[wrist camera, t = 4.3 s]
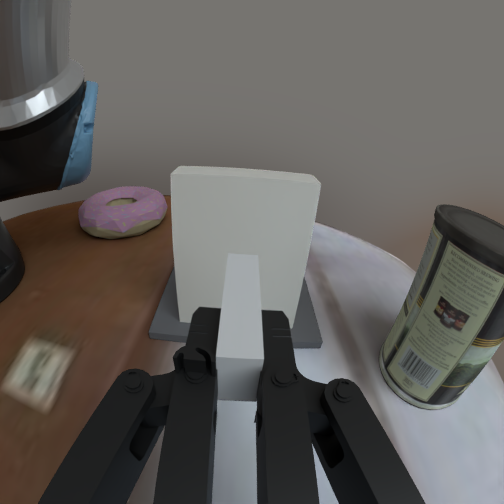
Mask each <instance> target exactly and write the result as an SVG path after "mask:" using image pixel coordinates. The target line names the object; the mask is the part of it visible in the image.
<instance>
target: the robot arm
mask: <svg viewBox="0 0 504 504" xmlns="http://www.w3.org/2000/svg"><path fill="white" fill-rule="evenodd" d="M70 8H71V0H0V202H2V201H6V200H10V199H14V198H18V197H23V196H27V195H32V194H37V193H42V192H47V191H53V190H60V189H62V188H63V187H67V186H70V185H75V184H78V183H81V182H83V181H84V180H85V179H86V178H87V177H88V176H89V174H90V171H91V160H92V159H91V158H92V143H93V126H94V118H95V110H96V100H97V93H98V84H97V83H96V82H91V81H86V82H84V71H83V67H82V66H81V64H79V63H78V62H77V61H75V60H73V59H71V58H69V21H70ZM24 270H25V266H24V262H23V259H22V256H21V252H20V250H19V248H18V246H17V245H16V243H15V242H14V240H13V239H12V237H11V235H10V234H9V232H8V230H7V229H6V227H5V225H4V224H3V222H2V220H1V218H0V302H1V301H2V300H3V299H5V298H6V297H7V296H8V295H9V294H10V293H11V292H12V291H13V290H14V289H15V287H16V286H17V285H18V283H19V282H20V280H21V279H22V276H23V274H24ZM173 361H174V366H175V370H174V371H172V372H170V373H167V374H163V375H155V376H150V375H149V374H148V373H147V372H145V371H143V370H140V369H129V370H126V371H124V372H122V373H121V374H120V375H119V376H118V377H117V379H116V380H115V382H114V383H113V384H112V386H111V387H110V389H109V390H108V392H107V393H106V395H105V396H104V398H103V399H102V401H101V402H100V404H99V405H98V407H97V408H96V410H95V411H94V413H93V414H92V416H91V417H90V419H89V421H88V422H87V424H86V425H85V427H84V428H83V430H82V431H81V433H80V434H79V436H78V438H77V439H76V441H75V442H74V444H73V446H72V447H71V449H70V450H69V452H68V454H67V455H66V457H65V458H64V460H63V462H62V463H61V465H60V467H59V468H58V470H57V472H56V473H55V475H54V477H53V478H52V480H51V482H50V483H49V485H48V487H47V488H46V490H45V492H44V494H43V495H42V497H41V499H40V501H39V502H38V504H126V502H127V500H128V498H129V496H130V494H131V492H132V490H133V488H134V486H135V484H136V482H137V480H138V478H139V476H140V474H141V472H142V470H143V468H144V466H145V464H146V462H147V460H148V458H149V456H150V454H151V452H152V450H153V448H154V446H155V444H156V442H157V440H158V438H159V436H160V434H161V432H162V430H163V428H164V426H165V431H164V437H163V443H162V449H161V455H160V461H159V467H158V474H157V480H156V487H155V495H154V502H153V504H212V486H213V468H214V451H215V435H216V420H217V400H230V401H254V402H256V400H257V411H256V416H255V421H254V423H256V452H257V504H319V496H318V487H317V479H316V471H315V463H314V455H313V448H312V444H313V446H314V448H315V451H316V453H317V455H318V457H319V460H320V462H321V464H322V467H323V469H324V471H325V473H326V476H327V478H328V480H329V482H330V485H331V487H332V489H333V491H334V494H335V496H336V498H337V500H338V502H339V504H425V502H424V500H423V498H422V496H421V494H420V493H419V491H418V489H417V487H416V485H415V484H414V482H413V480H412V478H411V476H410V475H409V473H408V471H407V469H406V467H405V466H404V464H403V462H402V460H401V459H400V457H399V455H398V453H397V452H396V450H395V448H394V446H393V445H392V443H391V441H390V439H389V438H388V436H387V434H386V432H385V431H384V429H383V427H382V426H381V424H380V422H379V420H378V419H377V417H376V415H375V414H374V412H373V410H372V409H371V407H370V405H369V403H368V402H367V400H366V398H365V397H364V395H363V393H362V392H361V390H360V388H359V387H358V386H357V385H356V384H355V383H354V382H352V381H350V380H348V379H343V378H340V379H334V380H332V381H330V382H329V383H328V384H323V383H319V382H315V381H312V380H309V379H307V378H305V377H304V376H303V375H302V374H301V373H300V372H299V371H298V369H297V367H296V363H295V356H294V350H293V343H292V338H291V331H290V325H289V319H288V318H287V316H286V315H285V314H284V312H283V311H277V310H261V295H260V278H259V261H258V255H247V254H232V253H228V258H227V266H226V274H225V282H224V290H223V298H222V307H221V308H211V307H198V309H197V310H196V311H195V312H194V313H193V315H192V319H191V323H190V328H189V333H188V337H187V341H186V346H184V347H181V348H180V349H179V350H178V351H176V353H175V354H174V356H173Z"/></svg>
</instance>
